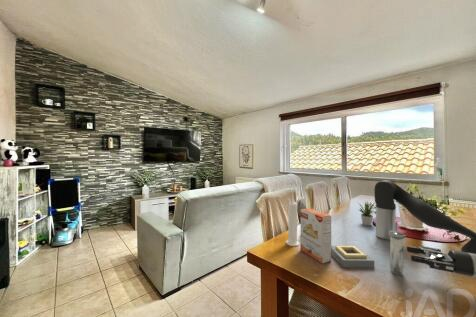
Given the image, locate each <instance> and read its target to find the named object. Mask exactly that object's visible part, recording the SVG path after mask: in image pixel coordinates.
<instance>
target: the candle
mask: <svg viewBox="0 0 476 317" xmlns="http://www.w3.org/2000/svg"><path fill="white" fill-rule="evenodd" d="M285 243H286V245H288V246H290V247H298V246H300V243H301V242H300V241H298V203H297V202H295V199H294V197H292V198H291V201H290V202H288V239H287V240H286V241H285Z"/></svg>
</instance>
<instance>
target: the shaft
mask: <svg viewBox="0 0 476 317" xmlns="http://www.w3.org/2000/svg"><path fill="white" fill-rule="evenodd" d="M389 235H390V240H389V241H390V242H389V243H390V244H389V247H390V248H389V249H390V250H389V251H390V253H389V254H390V256H389V257H390V258H389V259H390V260H389V262H390V264H389V266H390V267H389V268H390V273H392V274H394V275H395V276H400V277H402V276H403V275H404V239H406V233H403V232H400V231H398V230H397V231H389Z"/></svg>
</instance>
